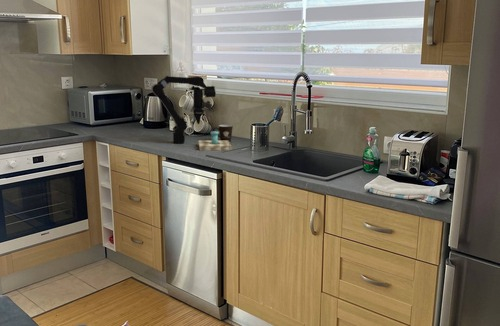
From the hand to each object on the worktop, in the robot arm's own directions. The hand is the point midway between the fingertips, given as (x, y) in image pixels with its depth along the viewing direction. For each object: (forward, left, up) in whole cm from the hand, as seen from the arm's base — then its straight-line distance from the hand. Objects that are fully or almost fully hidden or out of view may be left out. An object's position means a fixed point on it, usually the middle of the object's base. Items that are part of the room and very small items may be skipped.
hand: (198, 122), depth 306 cm
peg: (+9, -17, -12) cm, 23 cm away
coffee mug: (+16, +3, -12) cm, 20 cm away
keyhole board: (+9, -17, -12) cm, 23 cm away
